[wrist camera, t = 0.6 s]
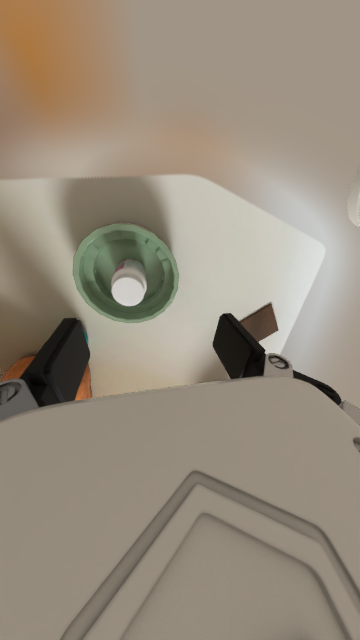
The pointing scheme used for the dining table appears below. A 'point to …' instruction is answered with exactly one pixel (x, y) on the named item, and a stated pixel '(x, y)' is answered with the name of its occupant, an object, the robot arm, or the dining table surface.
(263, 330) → the coaster board
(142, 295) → the pill bottle
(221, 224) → the dining table surface
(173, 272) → the bowl
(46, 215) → the dining table surface
